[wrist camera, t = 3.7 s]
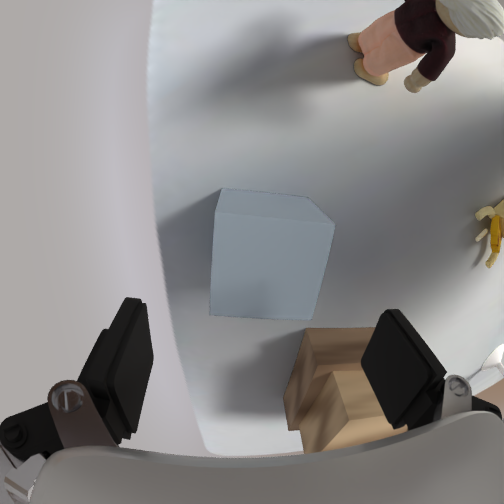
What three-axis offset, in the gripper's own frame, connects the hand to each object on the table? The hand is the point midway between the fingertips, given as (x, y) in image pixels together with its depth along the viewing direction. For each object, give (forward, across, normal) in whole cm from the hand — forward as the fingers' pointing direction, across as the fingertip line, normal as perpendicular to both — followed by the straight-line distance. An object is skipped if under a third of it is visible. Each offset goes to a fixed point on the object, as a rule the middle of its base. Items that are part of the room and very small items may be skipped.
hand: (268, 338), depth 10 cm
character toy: (+11, -24, -5) cm, 27 cm away
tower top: (+6, -12, +14) cm, 19 cm away
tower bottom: (+11, -12, +14) cm, 21 cm away
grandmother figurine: (+10, -7, -15) cm, 20 cm away
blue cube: (+11, -1, 0) cm, 11 cm away
